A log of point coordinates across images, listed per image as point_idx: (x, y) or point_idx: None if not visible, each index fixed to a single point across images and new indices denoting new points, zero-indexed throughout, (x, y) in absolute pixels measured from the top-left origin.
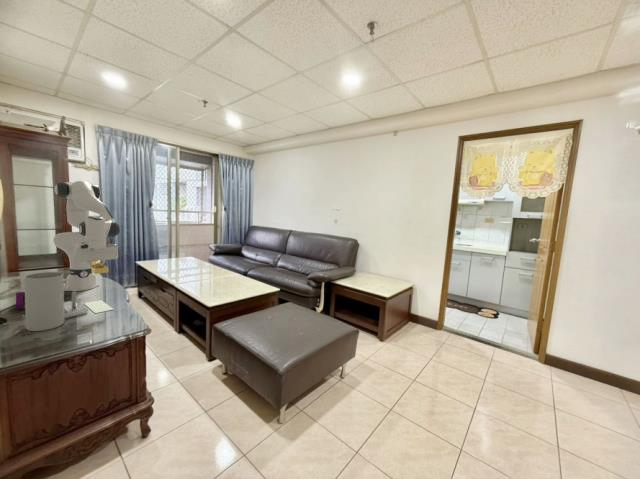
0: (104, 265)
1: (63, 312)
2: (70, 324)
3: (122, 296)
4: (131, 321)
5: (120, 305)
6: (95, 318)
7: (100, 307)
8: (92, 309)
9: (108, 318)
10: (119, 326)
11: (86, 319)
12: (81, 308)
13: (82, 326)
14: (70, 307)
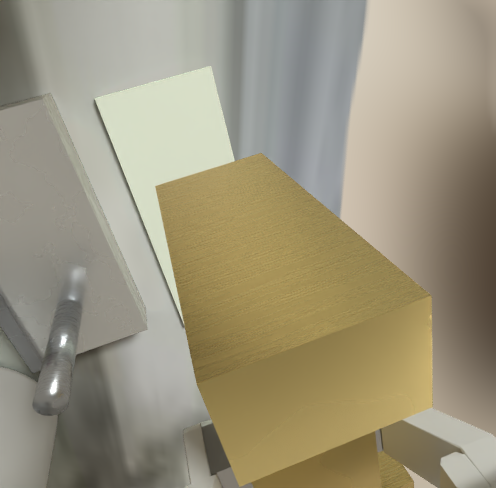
0: (408, 483)
1: (48, 473)
2: (90, 422)
3: (356, 12)
4: None
5: None
6: (187, 384)
7: None
8: (165, 265)
9: None
10: None
11: (149, 385)
12: (113, 326)
13: (143, 450)
14: (40, 287)
